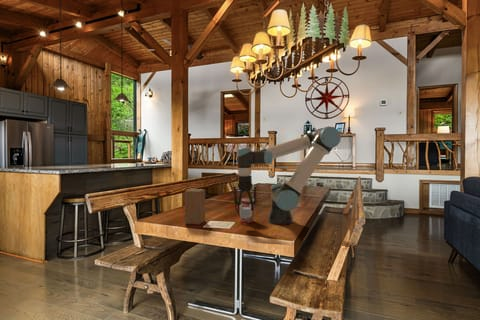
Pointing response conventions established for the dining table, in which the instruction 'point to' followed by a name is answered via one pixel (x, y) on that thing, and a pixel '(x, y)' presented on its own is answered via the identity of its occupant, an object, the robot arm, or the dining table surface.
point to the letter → (219, 224)
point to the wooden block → (194, 206)
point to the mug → (246, 204)
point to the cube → (245, 212)
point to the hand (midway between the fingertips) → (245, 216)
